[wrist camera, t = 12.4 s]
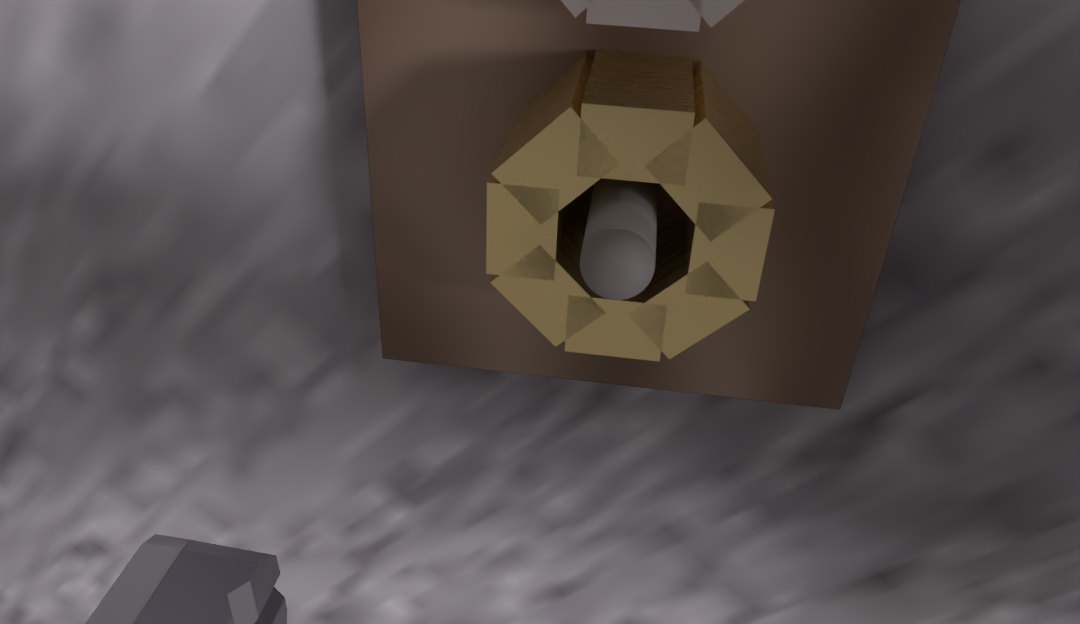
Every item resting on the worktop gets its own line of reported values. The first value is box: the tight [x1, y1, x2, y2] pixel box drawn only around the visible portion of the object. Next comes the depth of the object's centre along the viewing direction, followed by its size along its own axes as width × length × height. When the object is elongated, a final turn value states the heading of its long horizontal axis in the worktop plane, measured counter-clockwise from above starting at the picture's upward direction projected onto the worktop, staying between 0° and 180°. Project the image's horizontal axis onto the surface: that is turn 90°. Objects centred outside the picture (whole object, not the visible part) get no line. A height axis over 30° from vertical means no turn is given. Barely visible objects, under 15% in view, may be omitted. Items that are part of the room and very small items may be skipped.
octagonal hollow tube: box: [486, 49, 775, 361], centre depth 21 cm, size 6×6×4 cm
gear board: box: [357, 0, 961, 410], centre depth 19 cm, size 14×20×7 cm
